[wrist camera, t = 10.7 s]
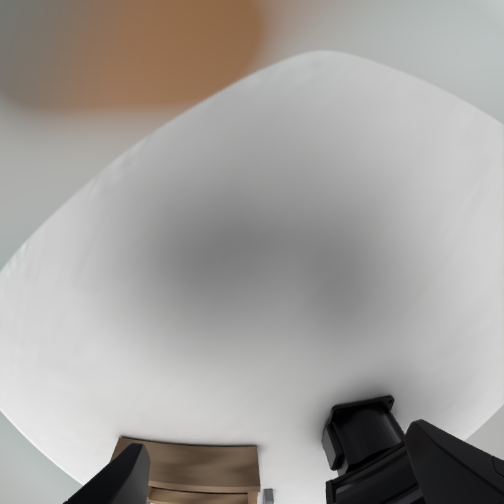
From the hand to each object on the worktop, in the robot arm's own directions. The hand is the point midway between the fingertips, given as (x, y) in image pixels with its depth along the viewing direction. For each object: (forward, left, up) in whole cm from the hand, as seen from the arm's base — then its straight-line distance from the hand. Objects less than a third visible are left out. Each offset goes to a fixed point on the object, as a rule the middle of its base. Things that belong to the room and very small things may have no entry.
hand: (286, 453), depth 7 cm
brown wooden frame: (+7, +22, -13) cm, 26 cm away
